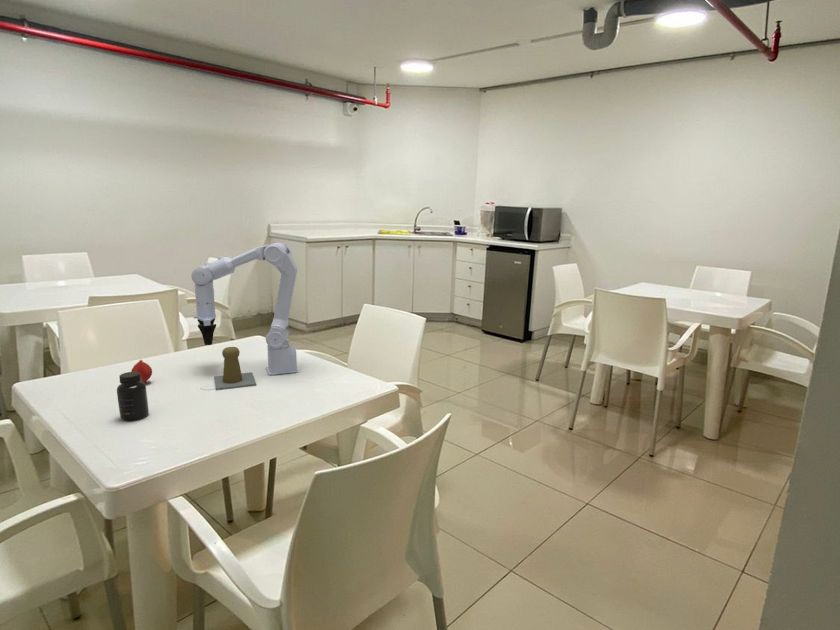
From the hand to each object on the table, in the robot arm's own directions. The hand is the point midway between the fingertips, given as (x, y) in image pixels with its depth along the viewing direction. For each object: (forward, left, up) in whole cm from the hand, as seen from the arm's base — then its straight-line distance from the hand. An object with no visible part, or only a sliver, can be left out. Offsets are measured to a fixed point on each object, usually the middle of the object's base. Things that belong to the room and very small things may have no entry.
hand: (208, 341), depth 172 cm
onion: (+20, +6, -11) cm, 23 cm away
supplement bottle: (+20, +33, -11) cm, 40 cm away
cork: (-6, +14, -10) cm, 18 cm away
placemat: (-7, +14, -10) cm, 19 cm away
